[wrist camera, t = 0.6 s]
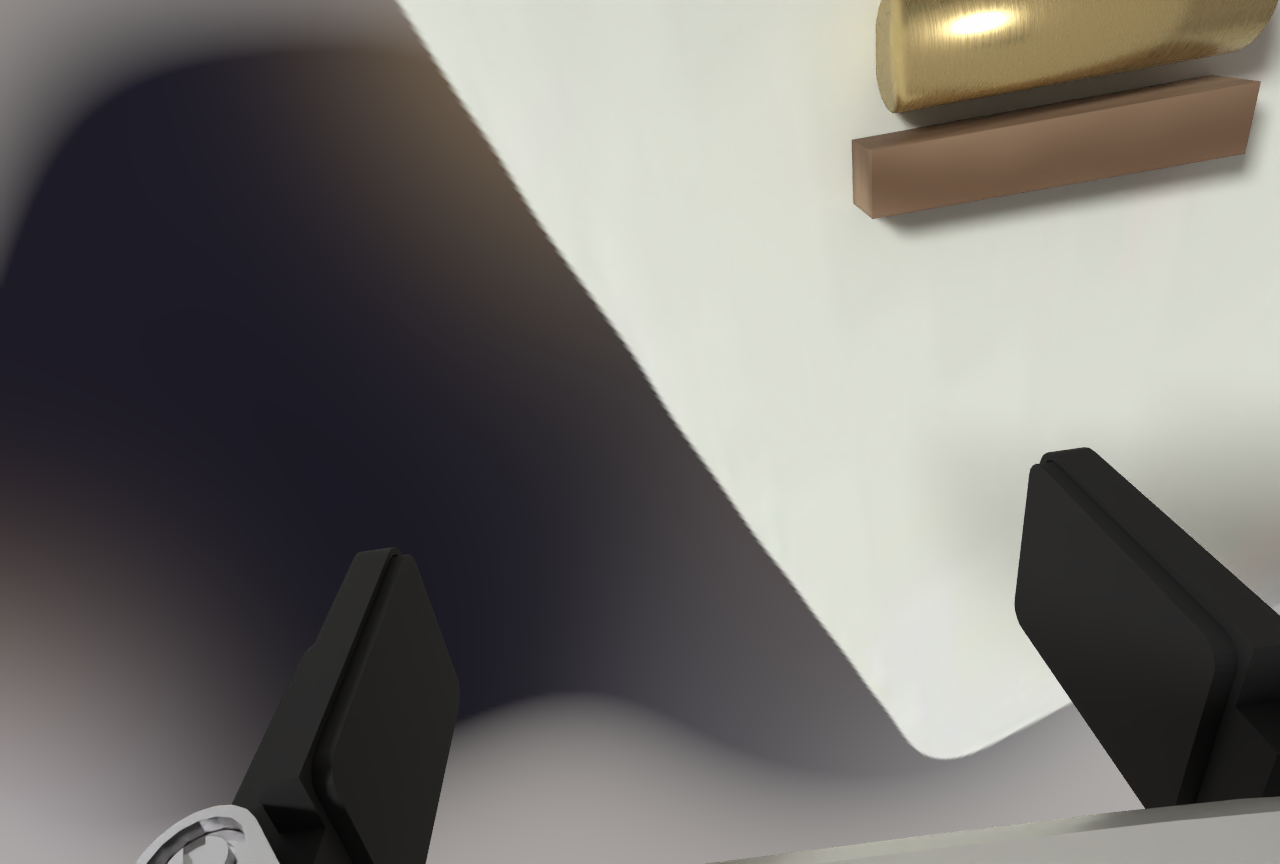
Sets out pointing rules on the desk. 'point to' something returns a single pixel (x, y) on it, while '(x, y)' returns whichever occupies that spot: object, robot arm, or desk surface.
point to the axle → (1044, 42)
